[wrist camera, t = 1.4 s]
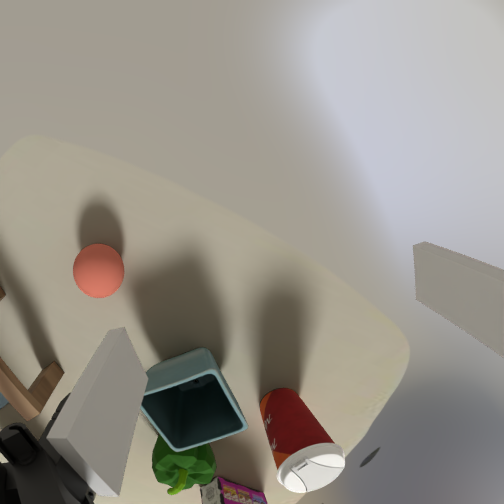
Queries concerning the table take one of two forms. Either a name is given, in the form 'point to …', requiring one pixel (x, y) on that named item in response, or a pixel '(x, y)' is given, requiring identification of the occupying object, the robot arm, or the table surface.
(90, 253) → the ball
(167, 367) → the flower pot
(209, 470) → the bell pepper
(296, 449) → the paper cup
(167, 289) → the table surface
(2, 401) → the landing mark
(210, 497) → the candy bar box
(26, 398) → the bridge
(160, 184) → the table surface
